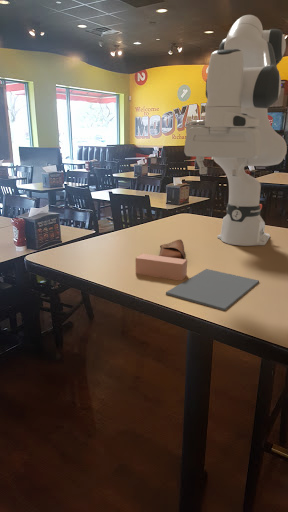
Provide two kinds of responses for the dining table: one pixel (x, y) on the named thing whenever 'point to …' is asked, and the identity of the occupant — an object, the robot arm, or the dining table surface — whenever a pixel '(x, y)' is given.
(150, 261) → the pink rectangular brick
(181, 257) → the sunglasses case
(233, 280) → the mat
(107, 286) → the dining table surface
